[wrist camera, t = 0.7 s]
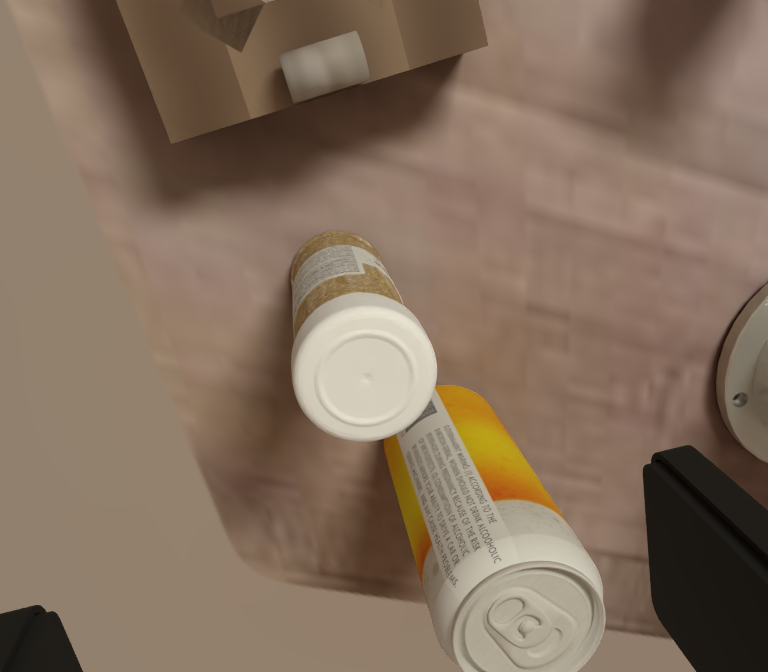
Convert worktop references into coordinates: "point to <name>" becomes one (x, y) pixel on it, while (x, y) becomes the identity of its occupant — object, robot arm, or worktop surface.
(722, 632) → the robot arm
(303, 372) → the sprinkles bottle
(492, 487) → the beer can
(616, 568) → the worktop surface
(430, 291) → the worktop surface
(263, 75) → the open brown cardboard box
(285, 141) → the worktop surface
